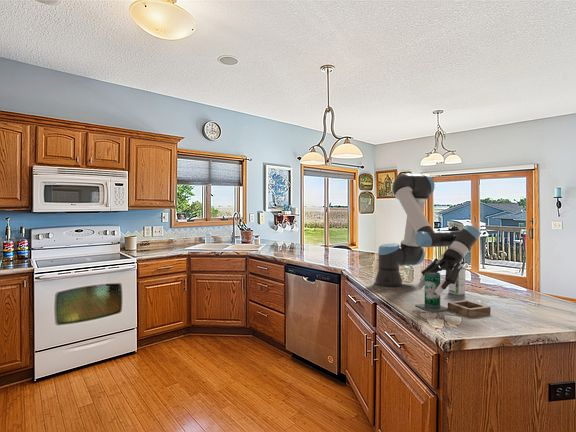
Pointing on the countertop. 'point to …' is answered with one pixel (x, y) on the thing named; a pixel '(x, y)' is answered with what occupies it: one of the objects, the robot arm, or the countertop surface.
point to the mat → (432, 308)
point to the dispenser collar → (469, 308)
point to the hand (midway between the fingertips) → (427, 290)
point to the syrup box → (458, 283)
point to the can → (432, 290)
